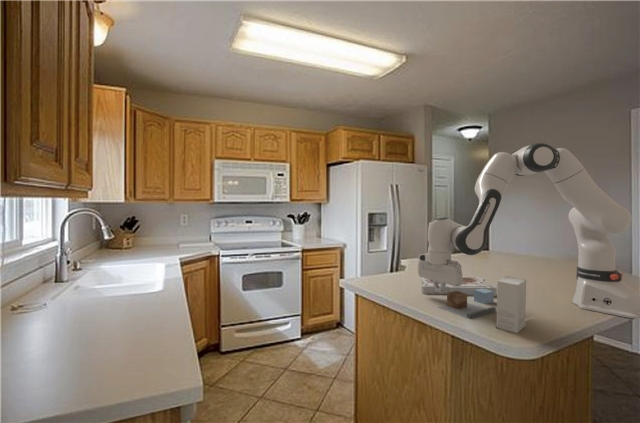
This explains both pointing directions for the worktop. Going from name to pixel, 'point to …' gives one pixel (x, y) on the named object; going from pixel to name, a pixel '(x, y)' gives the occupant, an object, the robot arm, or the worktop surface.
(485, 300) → the blue block
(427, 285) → the decorative sign
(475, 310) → the grey flat square slab
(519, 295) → the skincare box
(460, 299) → the walnut block
